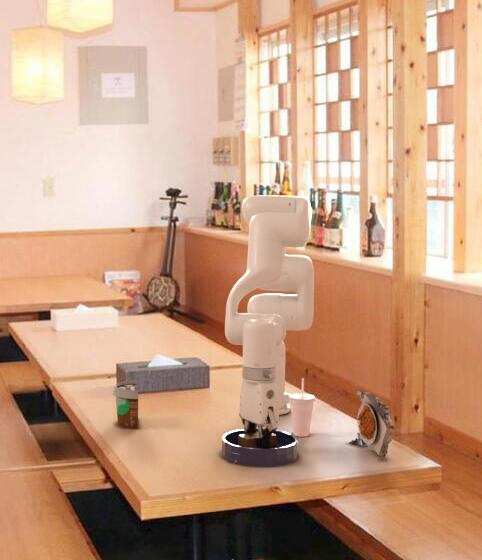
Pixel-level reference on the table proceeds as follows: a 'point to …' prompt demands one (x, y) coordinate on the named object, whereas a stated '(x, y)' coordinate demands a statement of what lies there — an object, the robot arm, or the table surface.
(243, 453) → the bowl
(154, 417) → the table surface
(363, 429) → the meal
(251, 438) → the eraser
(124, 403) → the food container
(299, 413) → the smoothie
